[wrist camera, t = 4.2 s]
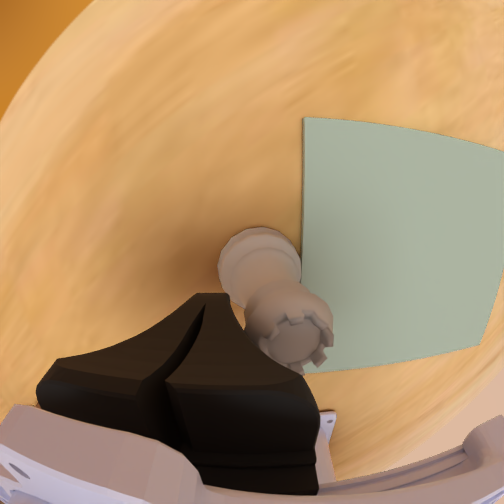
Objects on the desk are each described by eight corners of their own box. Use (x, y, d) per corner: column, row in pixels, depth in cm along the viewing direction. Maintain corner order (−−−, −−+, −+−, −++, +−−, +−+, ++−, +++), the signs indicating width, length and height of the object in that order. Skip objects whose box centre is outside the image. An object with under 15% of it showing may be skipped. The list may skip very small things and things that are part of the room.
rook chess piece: (300, 227, 16) (374, 285, 9) (289, 300, 18) (341, 390, 10) (219, 222, 16) (231, 284, 8) (214, 299, 17) (224, 399, 9)
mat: (475, 341, 19) (479, 344, 19) (292, 368, 19) (294, 374, 19) (512, 155, 14) (517, 156, 14) (302, 118, 14) (304, 117, 14)
